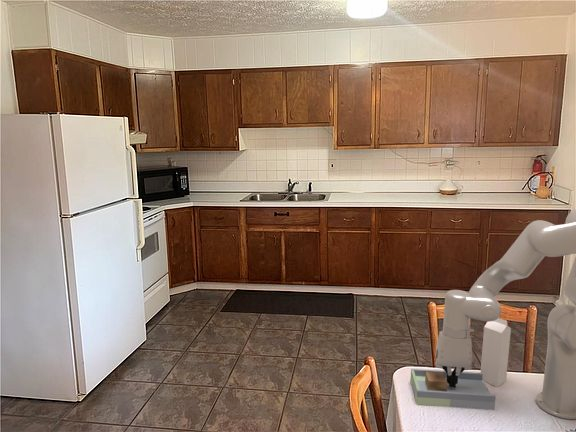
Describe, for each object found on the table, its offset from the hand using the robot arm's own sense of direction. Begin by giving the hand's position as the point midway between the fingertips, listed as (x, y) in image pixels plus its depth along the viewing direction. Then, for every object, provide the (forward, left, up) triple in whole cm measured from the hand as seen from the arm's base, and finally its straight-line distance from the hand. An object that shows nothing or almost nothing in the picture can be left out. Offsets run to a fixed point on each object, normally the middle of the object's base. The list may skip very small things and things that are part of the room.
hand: (451, 385), depth 137 cm
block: (+5, 0, -1) cm, 5 cm away
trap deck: (0, 0, -4) cm, 4 cm away
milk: (-16, -11, -4) cm, 20 cm away
